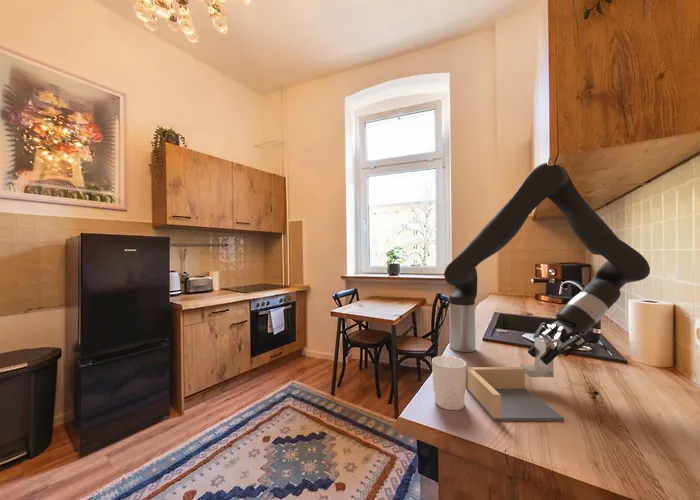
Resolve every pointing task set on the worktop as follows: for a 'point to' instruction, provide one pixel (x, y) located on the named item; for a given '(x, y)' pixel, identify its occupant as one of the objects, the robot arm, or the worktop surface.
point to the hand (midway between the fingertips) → (536, 357)
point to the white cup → (449, 382)
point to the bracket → (540, 367)
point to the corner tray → (506, 395)
